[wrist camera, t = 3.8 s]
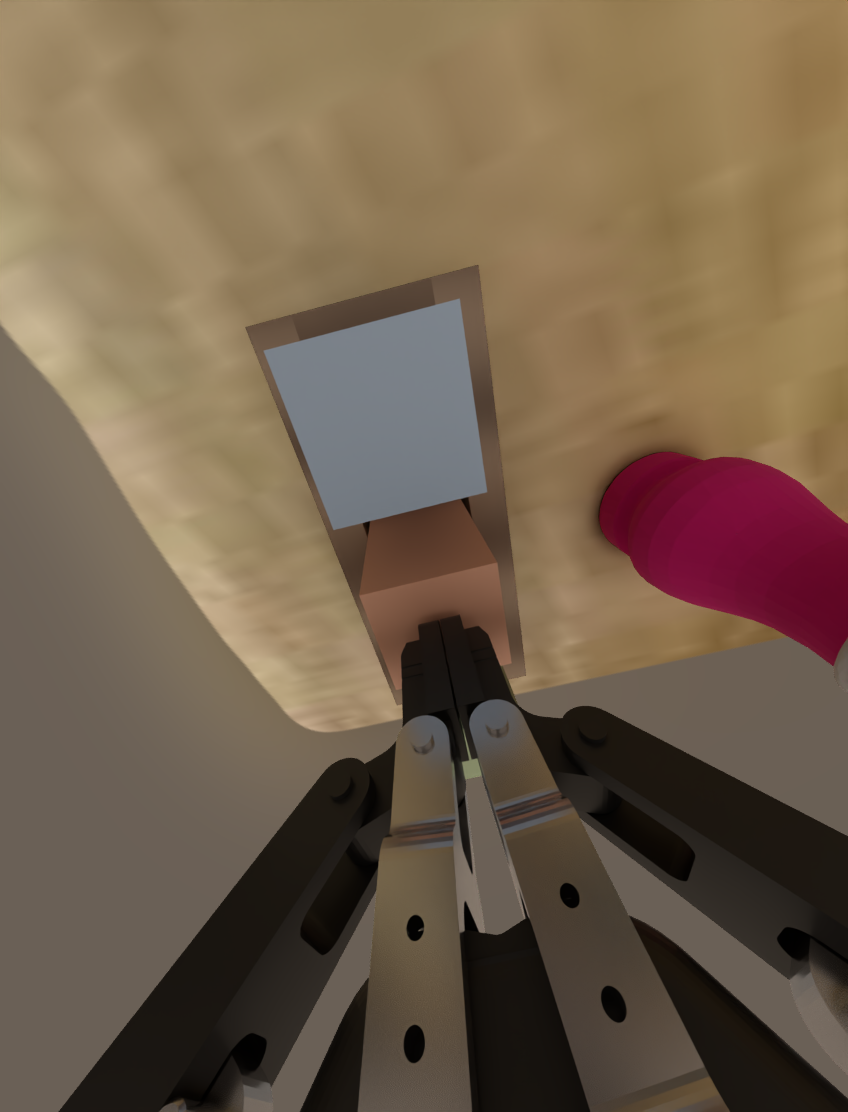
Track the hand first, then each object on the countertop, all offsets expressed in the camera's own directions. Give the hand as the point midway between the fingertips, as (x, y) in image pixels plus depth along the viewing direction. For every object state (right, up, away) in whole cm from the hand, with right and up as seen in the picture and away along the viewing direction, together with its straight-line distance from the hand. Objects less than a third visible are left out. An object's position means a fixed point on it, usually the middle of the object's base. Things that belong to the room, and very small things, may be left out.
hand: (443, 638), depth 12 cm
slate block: (-2, +9, +3) cm, 10 cm away
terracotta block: (-1, +3, +6) cm, 7 cm away
